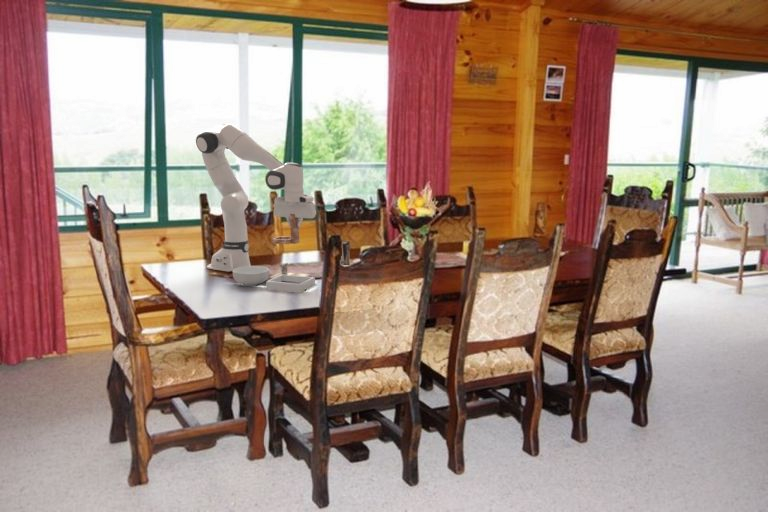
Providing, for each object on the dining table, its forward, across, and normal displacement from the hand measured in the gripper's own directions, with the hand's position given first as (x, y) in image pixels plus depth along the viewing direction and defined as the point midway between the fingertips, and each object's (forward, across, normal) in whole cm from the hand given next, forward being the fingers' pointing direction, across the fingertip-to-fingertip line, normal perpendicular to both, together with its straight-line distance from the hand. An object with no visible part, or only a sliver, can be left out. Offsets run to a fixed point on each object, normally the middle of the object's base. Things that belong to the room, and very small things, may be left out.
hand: (294, 226), depth 329 cm
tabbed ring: (+8, -4, 0) cm, 9 cm away
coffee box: (+26, +16, +18) cm, 35 cm away
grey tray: (+25, +5, -15) cm, 30 cm away
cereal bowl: (+26, -15, -16) cm, 34 cm away
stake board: (+25, -4, +2) cm, 26 cm away
